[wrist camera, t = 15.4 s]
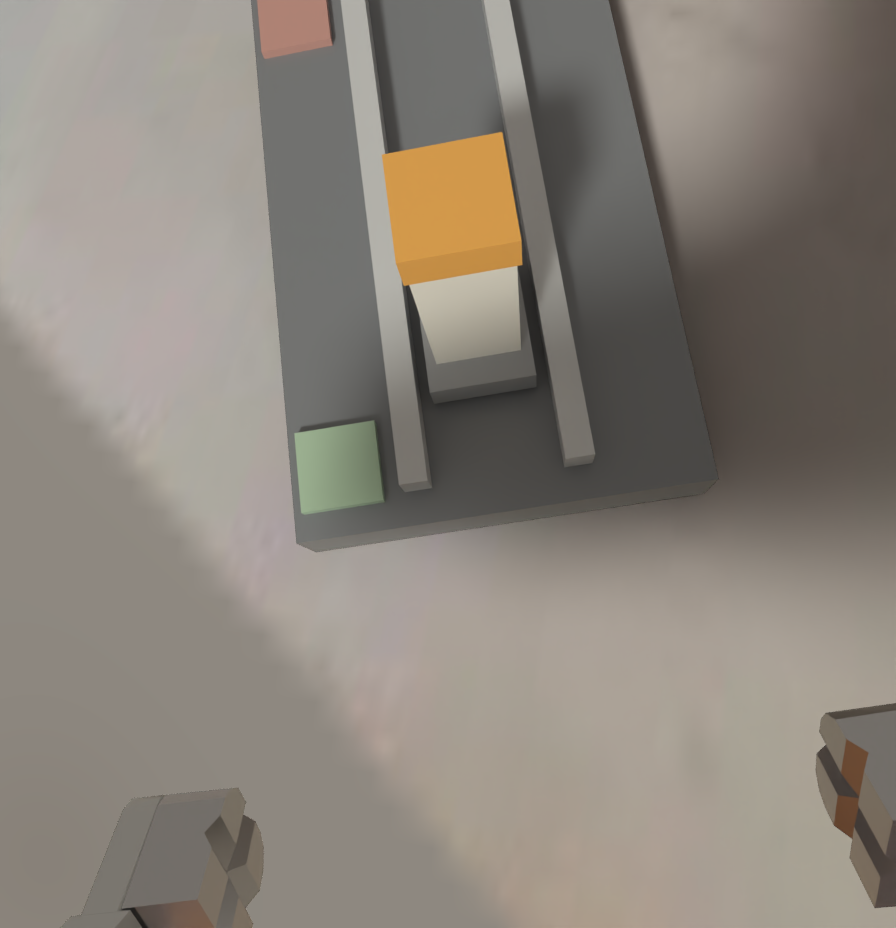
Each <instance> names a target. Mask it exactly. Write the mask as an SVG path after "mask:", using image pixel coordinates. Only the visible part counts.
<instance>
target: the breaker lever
mask: <svg viewBox="0 0 896 928" xmlns="http://www.w3.org/2000/svg"><path fill="white" fill-rule="evenodd" d="M382 161H383V168H384V176H385V184H386V192H387V199H388V207H389V215H390V223H391V230H392V238H393V246H394V254H395V261H396V265H397V268H398V271H399V274H400V277H401V279H402V282H403V285H404V286H406V285H409V286H410V289H411V292H412V295H413V297H414V300H415V303H416V306H417V309H418V312H419V317H420V324H421V332H422V339H423V347H424V354H425V362H426V369H427V376H428V384H429V391H430V395H431V397H432V400H433V402H434V404H437V403H443V402H449V401H455V400H461V399H467V398H473V397H480V396H486V395H492V394H498V393H504V392H510V391H516V390H522V389H528V388H534V387H536V369H535V364H534V358H533V352H532V346H531V341H530V335H529V329H528V323H527V317H526V312H525V306H524V300H523V294H522V289H521V283H520V277H519V271H518V266H520V265H522V241H521V235H520V229H519V224H518V218H517V213H516V207H515V201H514V196H513V190H512V184H511V179H510V173H509V167H508V162H507V156H506V150H505V145H504V139H503V133H502V132H499V133H493V134H488V135H483V136H478V137H472V138H467V139H462V140H457V141H451V142H446V143H441V144H436V145H430V146H425V147H420V148H415V149H409V150H404V151H399V152H393V153H388V154H383V155H382Z"/></svg>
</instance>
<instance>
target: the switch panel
mask: <svg viewBox="0 0 896 928" xmlns="http://www.w3.org/2000/svg"><path fill="white" fill-rule="evenodd" d="M251 5H252V17H253V29H254V41H255V53H256V65H257V77H258V89H259V101H260V113H261V125H262V137H263V149H264V161H265V173H266V185H267V197H268V209H269V221H270V232H271V244H272V256H273V268H274V280H275V292H276V304H277V316H278V328H279V340H280V352H281V364H282V376H283V388H284V400H285V412H286V424H287V436H288V448H289V460H290V472H291V484H292V496H293V508H294V520H295V532H296V543H297V544H299V545H301V546H303V547H305V548H308V549H310V550H312V551H314V552H320V551H327V550H334V549H340V548H347V547H354V546H360V545H367V544H373V543H380V542H387V541H393V540H400V539H407V538H413V537H420V536H426V535H433V534H440V533H446V532H453V531H459V530H466V529H473V528H479V527H486V526H493V525H499V524H506V523H512V522H519V521H526V520H532V519H539V518H546V517H552V516H559V515H565V514H572V513H579V512H585V511H592V510H598V509H605V508H612V507H618V506H625V505H632V504H638V503H645V502H651V501H658V500H665V499H671V498H678V497H685V496H691V495H698V494H703V493H705V492H706V491H707V490H708V489H709V488H710V487H711V486H712V485H713V484H714V483H715V482H716V481H717V480H718V479H719V478H718V474H717V469H716V465H715V461H714V456H713V452H712V448H711V443H710V439H709V435H708V430H707V426H706V422H705V417H704V413H703V408H702V404H701V400H700V395H699V391H698V387H697V382H696V378H695V374H694V369H693V365H692V361H691V356H690V352H689V348H688V343H687V339H686V335H685V330H684V326H683V321H682V317H681V313H680V308H679V304H678V300H677V295H676V291H675V287H674V282H673V278H672V274H671V269H670V265H669V261H668V256H667V252H666V248H665V243H664V239H663V234H662V230H661V226H660V221H659V217H658V213H657V208H656V204H655V200H654V195H653V191H652V187H651V182H650V178H649V174H648V169H647V165H646V161H645V156H644V152H643V147H642V143H641V139H640V134H639V130H638V126H637V121H636V117H635V113H634V108H633V104H632V100H631V95H630V91H629V87H628V82H627V78H626V74H625V69H624V65H623V61H622V56H621V52H620V47H619V43H618V39H617V34H616V30H615V26H614V21H613V17H612V13H611V8H610V4H609V0H251ZM499 132H502V133H503V139H504V145H505V150H506V156H507V162H508V167H509V173H510V179H511V184H512V190H513V196H514V201H515V207H516V213H517V218H518V224H519V229H520V235H521V241H522V265H520V266H518V271H519V277H520V283H521V289H522V294H523V300H524V306H525V312H526V317H527V323H528V329H529V335H530V341H531V346H532V352H533V358H534V364H535V369H536V387H534V388H528V389H522V390H516V391H510V392H504V393H498V394H492V395H486V396H480V397H473V398H467V399H461V400H455V401H449V402H443V403H437V404H434V402H433V400H432V397H431V395H430V391H429V384H428V376H427V369H426V362H425V354H424V347H423V339H422V332H421V324H420V317H419V312H418V309H417V306H416V303H415V300H414V297H413V295H412V292H411V289H410V286H409V285H406V286H404V285H403V282H402V279H401V277H400V274H399V271H398V268H397V265H396V261H395V254H394V246H393V238H392V230H391V223H390V215H389V207H388V199H387V192H386V184H385V176H384V168H383V161H382V155H383V154H388V153H393V152H399V151H404V150H409V149H415V148H420V147H425V146H430V145H436V144H441V143H446V142H451V141H457V140H462V139H467V138H472V137H478V136H483V135H488V134H493V133H499Z"/></svg>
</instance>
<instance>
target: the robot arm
mask: <svg viewBox="0 0 896 928" xmlns="http://www.w3.org/2000/svg"><path fill="white" fill-rule="evenodd" d="M819 732H820V734H821V736H822V738H823V740H824V742H825V744H826V745H825V746H824V747H823V748H822V749H821V750H820V751H819V752H818V753H817V756H816V776H817V781H818V787H819V791H820V794H821V797H822V800H823V803H824V805H825V808H826V810H827V812H828V814H829V816H830V819H831V821H832V823H833V825H834V826H835V827H837V828H838V829H839V830H841V831H842V832H843V833H845V834H846V835H848V836H849V837H850V838H852V844H851V851H850V860H851V862H852V864H853V866H854V868H855V870H856V872H857V874H858V876H859V878H860V880H861V882H862V884H863V886H864V888H865V890H866V892H867V894H868V896H869V898H870V900H871V902H872V904H873V906H874V908H882V907H895V906H896V703H893V704H886V705H879V706H872V707H864V708H857V709H850V710H843V711H836V712H829V713H825V714H824V716H823V717H822V718H821V722H820V730H819ZM245 804H246V801H245V799H244V797H243V796H242V794H241V792H240V790H239V788H230V789H220V790H209V791H199V792H190V793H179V794H169V795H159V796H151V797H142V798H134V799H131V801H130V802H129V803H128V804H127V806H126V807H125V808H124V809H123V811H122V813H121V816H120V818H119V821H118V823H117V826H116V828H115V831H114V833H113V836H112V838H111V841H110V844H109V846H108V848H107V851H106V854H105V856H104V858H103V861H102V864H101V866H100V868H99V871H98V873H97V876H96V879H95V881H94V884H93V886H92V889H91V891H90V894H89V896H88V899H87V901H86V904H85V906H84V909H83V911H82V914H81V915H77V916H71V917H70V918H69V919H68V920H67V921H66V922H65V923H64V924H63V925H62V926H61V927H60V928H252V926H253V923H252V920H251V919H250V916H249V914H248V912H247V910H246V907H247V906H248V904H249V903H250V902H251V901H252V899H253V898H254V897H255V896H256V895H257V893H258V892H259V891H260V886H261V880H262V875H263V863H264V859H263V858H264V853H263V852H264V851H263V850H264V847H263V842H262V837H261V832H260V830H259V828H258V826H257V824H256V822H255V821H254V820H252V819H250V818H249V817H247V816H245V815H243V813H244V809H245Z"/></svg>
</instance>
